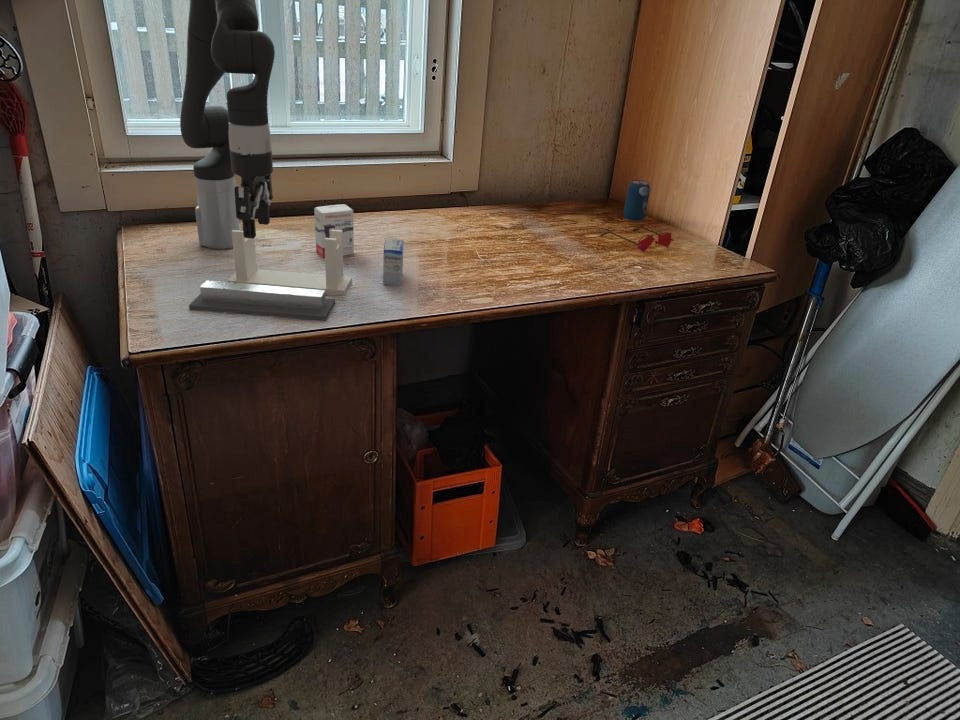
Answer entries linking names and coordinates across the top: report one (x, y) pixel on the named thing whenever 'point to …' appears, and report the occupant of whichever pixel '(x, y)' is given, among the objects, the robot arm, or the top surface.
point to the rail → (263, 295)
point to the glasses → (649, 239)
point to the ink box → (334, 226)
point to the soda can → (636, 200)
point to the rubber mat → (263, 309)
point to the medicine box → (393, 262)
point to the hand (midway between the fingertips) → (257, 230)
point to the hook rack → (252, 275)
